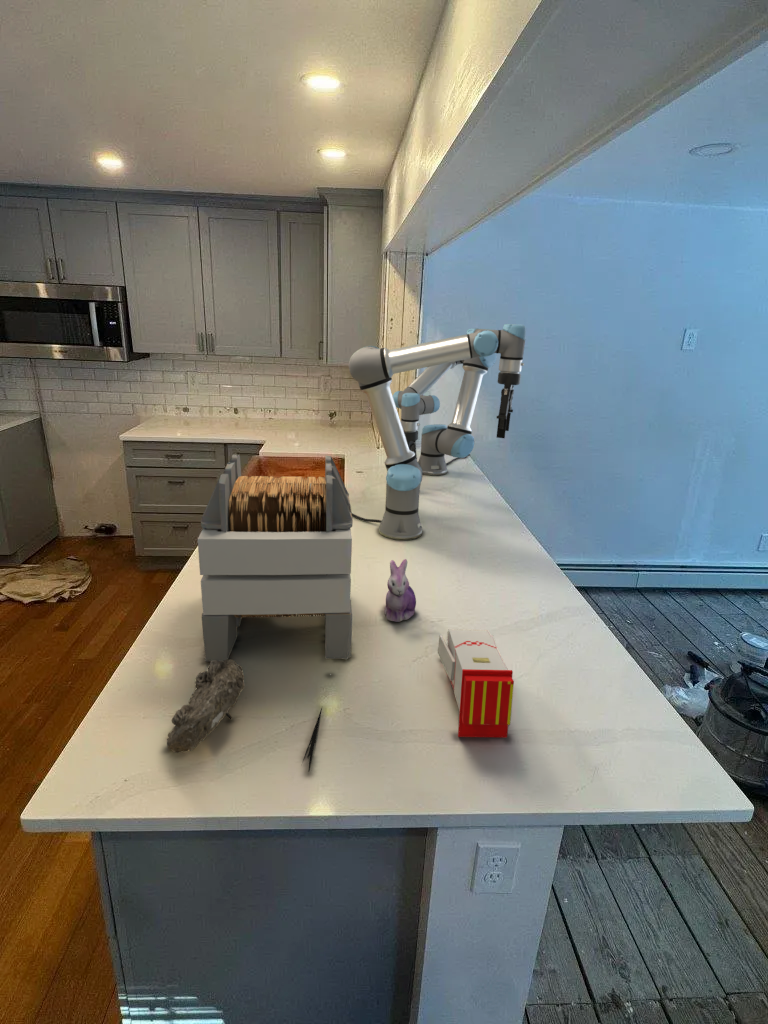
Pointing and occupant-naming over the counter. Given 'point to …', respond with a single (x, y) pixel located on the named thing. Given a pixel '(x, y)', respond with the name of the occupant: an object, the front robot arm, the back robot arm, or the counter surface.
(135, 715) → the counter surface
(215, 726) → the fossil
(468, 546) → the counter surface
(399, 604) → the figurine
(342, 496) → the record storage crate
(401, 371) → the front robot arm
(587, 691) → the counter surface
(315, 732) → the feather
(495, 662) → the toy
